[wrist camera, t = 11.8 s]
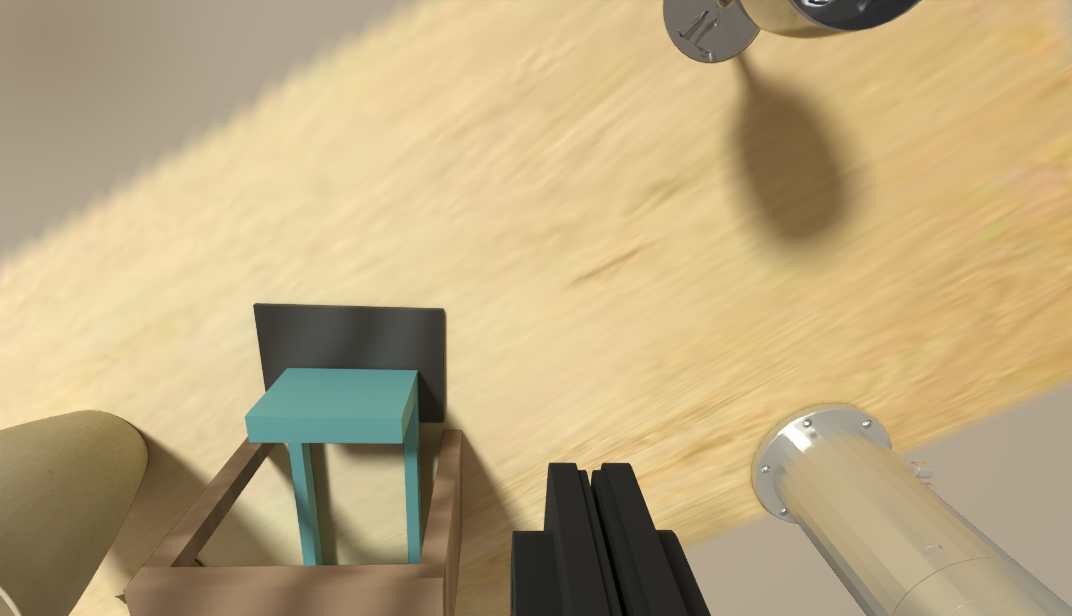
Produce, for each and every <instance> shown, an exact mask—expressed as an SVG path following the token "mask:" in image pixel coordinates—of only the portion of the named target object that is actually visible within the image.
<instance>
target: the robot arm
mask: <svg viewBox="0 0 1072 616" xmlns="http://www.w3.org/2000/svg"><path fill="white" fill-rule="evenodd" d="M932 476H933V468H932V466H931V465H930V464H929V463H927V462H911V463H907V462H906V461H904V460H903V459H902V458H901V457H900V456H898V455H897V454H896V453H895V452H893V451H892V444H891V441H890V438H889V434H888V433H887V431H886V430H885V428H884V426H883V425H882V424H881V423H880V422H879V421H878V420H877V419H876V418H874V417H873V416H871V415H870V414H869V413H867V412H866V411H865V410H862V409H860V408H858V407H855V406H852V405H847V404H842V403H828V404H822V405H815V406H812V407H809V408H806V409H803V410H801V411H799V412H797V413H795V414H793V415H791V416H789V417H788V418H786V419H785V420H783V421H782V422H780V423H779V424H778V425H777V426H776V427H775V428H774V429H773V430H772V431H770V432H769V433H768V435H767V436H766V437H765V439H764V440H763V441H762V443H761V444H760V446H759V448H758V450H757V452H756V454H755V456H754V460H753V463H752V470H751V479H752V485H753V489H754V491H755V493H756V495H757V497H758V498H759V500H760V501H761V503H762V504H763V506H764V507H765V508H766V509H767V510H768V511H769V512H770V513H771V514H773V515H774V516H776V517H777V518H779V519H782V520H785V521H788V522H791V523H797V524H799V526H800V527H801V528H802V529H803V531H804V532H805V534H806V535H807V536H808V537H809V539H810V540H811V542H812V543H813V544H814V546H815V547H816V548H817V550H818V551H819V552H820V554H821V555H822V556H823V558H824V559H825V560H826V562H827V563H828V564H829V566H830V567H831V568H832V570H833V571H834V572H835V574H836V575H837V576H838V578H839V579H840V580H841V582H842V583H843V584H844V586H845V587H846V588H847V590H848V591H849V592H850V594H851V595H852V596H853V598H854V599H855V601H856V602H857V603H858V604H859V606H860V607H861V608H862V610H863V611H864V613H865V614H866V615H867V616H1072V607H1071V606H1069V605H1068V604H1067V603H1066V602H1064V601H1063V600H1062V599H1061V598H1060V597H1058V596H1057V595H1056V594H1055V593H1054V592H1052V591H1051V590H1050V589H1049V588H1048V587H1046V586H1045V585H1044V584H1043V583H1041V582H1040V581H1039V580H1038V579H1037V578H1036V577H1035V576H1033V575H1032V574H1031V573H1030V572H1029V571H1027V570H1026V569H1025V568H1024V567H1023V566H1021V565H1020V564H1019V563H1018V562H1017V561H1015V560H1014V559H1013V558H1012V557H1011V556H1010V555H1008V554H1007V553H1006V552H1005V551H1004V550H1002V549H1001V548H1000V547H999V546H998V545H997V544H995V543H994V542H993V541H992V540H991V539H989V538H988V537H987V536H986V535H985V534H984V533H982V532H981V531H980V530H979V529H977V528H976V527H975V526H974V525H973V524H972V523H970V522H969V521H968V520H967V519H966V518H965V517H963V516H962V515H961V514H960V513H959V512H958V511H956V510H955V509H954V508H953V507H952V506H950V505H949V504H948V503H947V502H946V501H944V500H943V499H942V498H941V497H940V494H939V491H938V489H937V488H936V487H935V485H933V484H931V483H923V482H922V481H921V480H920V479H918V478H931V477H932ZM511 616H711V615H710V613H709V610H708V608H707V606H706V604H705V601H704V599H703V596H702V594H701V592H700V589H699V587H698V585H697V583H696V580H695V578H694V575H693V573H692V571H691V568H690V566H689V564H688V561H687V559H686V557H685V554H684V552H683V550H682V547H681V545H680V543H679V540H678V538H677V536H676V535H675V533H674V532H673V531H672V530H656V529H655V527H654V524H653V521H652V519H651V516H650V513H649V511H648V508H647V506H646V503H645V500H644V498H643V495H642V493H641V490H640V487H639V485H638V482H637V480H636V477H635V474H634V472H633V469H632V467H631V465H630V464H629V463H603V464H602V466H601V470H593V472H592V477H591V486H590V483H589V479H588V475H587V472H586V470H578V469H577V465H576V463H549V466H548V478H547V492H546V506H545V519H544V531H513V534H512V553H511Z"/></svg>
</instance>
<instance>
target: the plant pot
mask: <svg viewBox="0 0 1072 616" xmlns="http://www.w3.org/2000/svg"><path fill="white" fill-rule="evenodd" d="M147 464H148V450H147V447H146V444H145V442H144V440H143V438H142V437H141V435H140V434H139V433H138V432H137V431H136V430H135V429H134V428H133V427H132V426H131V425H130V424H128V423H127V422H126V421H124V420H122V419H120V418H119V417H117V416H114V415H112V414H109V413H105V412H101V411H93V410H85V411H77V412H72V413H68V414H63V415H59V416H54V417H49V418H45V419H41V420H37V421H33V422H29V423H25V424H21V425H18V426H14V427H10V428H7V429H3V430H0V616H68V615H69V614H70V613H71V611H72V610H73V608H74V607H75V605H76V604H77V602H78V600H79V599H80V597H81V596H82V594H83V592H84V591H85V589H86V588H87V586H88V584H89V583H90V581H91V580H92V578H93V576H94V574H95V573H96V571H97V569H98V568H99V566H100V564H101V562H102V561H103V559H104V557H105V555H106V554H107V552H108V550H109V548H110V546H111V545H112V543H113V541H114V539H115V537H116V535H117V533H118V531H119V530H120V528H121V526H122V524H123V521H124V519H125V517H126V515H127V513H128V511H129V509H130V507H131V505H132V502H133V500H134V498H135V496H136V493H137V491H138V489H139V486H140V484H141V481H142V478H143V476H144V473H145V470H146V467H147Z"/></svg>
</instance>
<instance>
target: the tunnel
mask: <svg viewBox="0 0 1072 616" xmlns="http://www.w3.org/2000/svg"><path fill="white" fill-rule="evenodd" d="M253 307H254V314H255V321H256V328H257V335H258V342H259V349H260V356H261V363H262V370H263V377H264V384H265V391H266V392H267V391H268V390H269V388H270V387H271V386H272V385H273V384H274V383H275V382H276V380H277V379H278V378H279V377H280V376H281V375H282V374H283V372H284V371H285V370H286V369H287V368H318V369H374V370H417V372H418V408H419V422H433V423H444V353H443V309H441V308H405V307H369V306H333V305H296V304H260V303H255V304H254V305H253ZM274 445H275V443H250V442H249V438H248V437H247V438H246V440H245V441H244V442H243V443H242V444H241V446H240V447H239V448H238V449H237V451H236V452H235V453H234V454H233V456H232V457H231V458H230V459H229V460H228V462H227V463H226V464H225V465H224V467H223V468H222V469H221V470H220V472H219V473H218V474H217V475H216V477H215V478H214V479H213V480H212V481H211V483H210V484H209V485H208V486H207V488H206V489H205V490H204V491H203V493H202V494H201V495H200V496H199V497H198V499H197V500H196V501H195V502H194V504H193V505H192V506H191V507H190V509H189V510H188V511H187V512H186V514H185V515H184V516H183V517H182V518H181V520H180V521H179V522H178V523H177V525H176V526H175V527H174V528H173V530H172V531H171V532H170V533H169V534H168V536H167V537H166V538H165V539H164V541H163V542H162V543H161V544H160V546H159V547H158V548H157V549H156V551H155V552H154V553H153V554H152V555H151V557H150V558H149V559H148V560H147V562H146V563H145V564H144V565H143V567H142V568H141V569H140V570H139V572H138V573H137V574H136V575H135V576H134V578H133V579H132V580H131V581H130V583H129V584H128V585H127V586H126V588H125V589H124V590H123V592H124V595H125V598H126V602H127V605H128V609H129V612H130V616H454V615H455V604H456V593H457V583H458V572H459V561H460V551H461V522H462V430H444V434H443V439H442V445H441V450H440V456H439V461H438V466H437V472H436V477H435V483H434V488H433V494H432V499H431V504H430V510H429V515H428V521H427V526H426V531H425V537H424V542H423V548H422V553H421V559H420V564H393V565H311V566H230V567H189V566H190V565H191V563H192V562H193V560H194V559H195V557H196V556H197V555H198V553H199V552H200V550H201V549H202V547H203V546H204V545H205V543H206V542H207V540H208V539H209V538H210V536H211V535H212V533H213V532H214V530H215V529H216V528H217V526H218V525H219V523H220V522H221V521H222V519H223V518H224V516H225V515H226V513H227V512H228V511H229V509H230V508H231V506H232V505H233V504H234V502H235V501H236V499H237V498H238V496H239V495H240V494H241V492H242V491H243V489H244V488H245V487H246V485H247V484H248V482H249V481H250V479H251V478H252V477H253V475H254V474H255V472H256V471H257V470H258V468H259V467H260V465H261V464H262V462H263V461H264V460H265V458H266V457H267V455H268V454H269V452H270V451H271V450H272V448H273V447H274Z"/></svg>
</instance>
